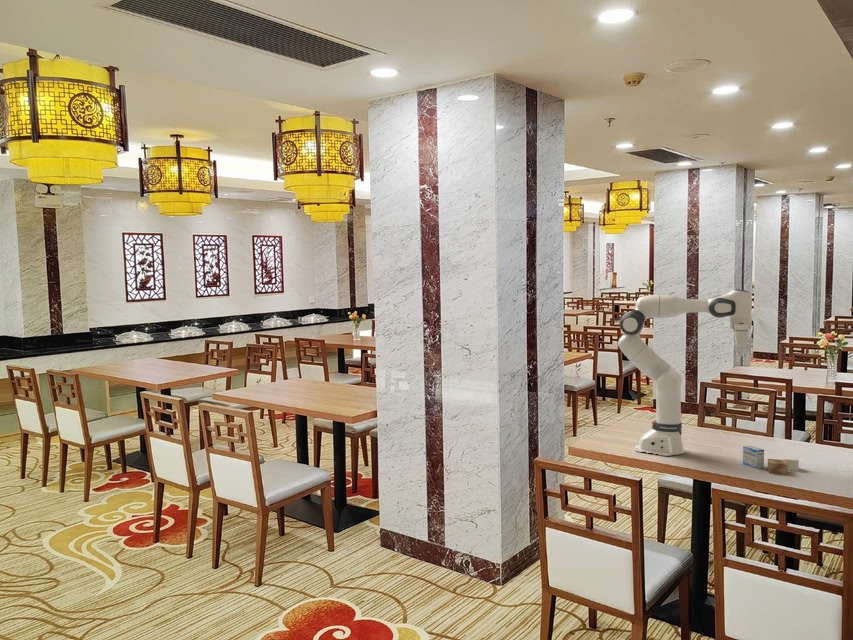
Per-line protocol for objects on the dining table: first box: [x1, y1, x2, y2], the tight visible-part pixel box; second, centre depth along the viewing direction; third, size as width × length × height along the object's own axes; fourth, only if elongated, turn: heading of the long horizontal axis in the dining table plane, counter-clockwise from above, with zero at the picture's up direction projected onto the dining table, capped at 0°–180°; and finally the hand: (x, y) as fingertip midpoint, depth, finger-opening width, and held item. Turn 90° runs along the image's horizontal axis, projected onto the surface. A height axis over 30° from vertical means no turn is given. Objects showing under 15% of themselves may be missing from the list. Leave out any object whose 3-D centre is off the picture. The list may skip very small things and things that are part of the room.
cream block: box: [783, 455, 800, 472], centre depth 291 cm, size 5×5×5 cm
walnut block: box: [767, 458, 789, 476], centre depth 286 cm, size 7×7×5 cm
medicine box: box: [742, 445, 765, 469], centre depth 295 cm, size 8×4×9 cm, turn 21°
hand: (740, 355), depth 304 cm, fingers open, 8 cm apart
